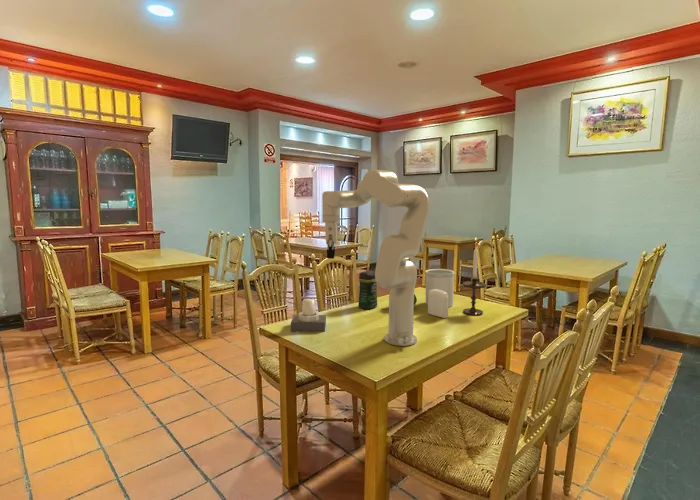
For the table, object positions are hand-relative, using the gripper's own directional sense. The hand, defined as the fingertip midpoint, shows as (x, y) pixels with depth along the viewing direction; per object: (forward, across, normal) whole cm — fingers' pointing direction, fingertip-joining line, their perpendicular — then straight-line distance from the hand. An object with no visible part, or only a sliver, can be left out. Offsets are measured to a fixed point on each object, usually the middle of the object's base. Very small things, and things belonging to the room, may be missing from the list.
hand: (330, 256), depth 178 cm
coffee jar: (+29, +16, -18) cm, 37 cm away
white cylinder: (+24, -15, +9) cm, 30 cm away
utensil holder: (+29, +21, -55) cm, 66 cm away
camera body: (+28, -15, +9) cm, 33 cm away
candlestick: (+28, +6, -68) cm, 74 cm away
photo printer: (+29, +2, -50) cm, 58 cm away
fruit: (+29, +15, -36) cm, 48 cm away
